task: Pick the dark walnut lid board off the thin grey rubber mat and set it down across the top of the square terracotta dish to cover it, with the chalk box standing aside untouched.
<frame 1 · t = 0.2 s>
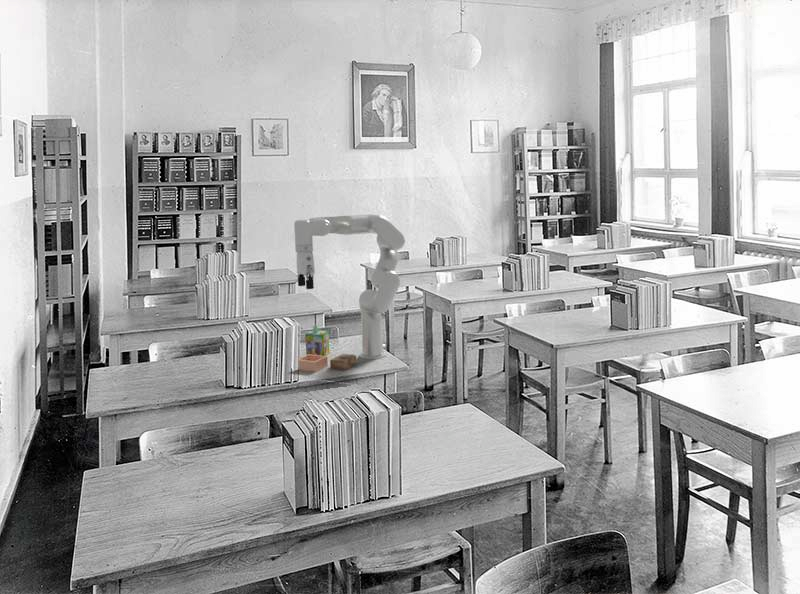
hand: (305, 287, 321), 37 cm above the table, tool pointing down, fingers open, 9 cm apart
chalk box: (318, 356, 348), on the table
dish: (312, 368, 326), on the table
mat: (343, 367, 327), on the table
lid: (343, 366, 327), resting on mat
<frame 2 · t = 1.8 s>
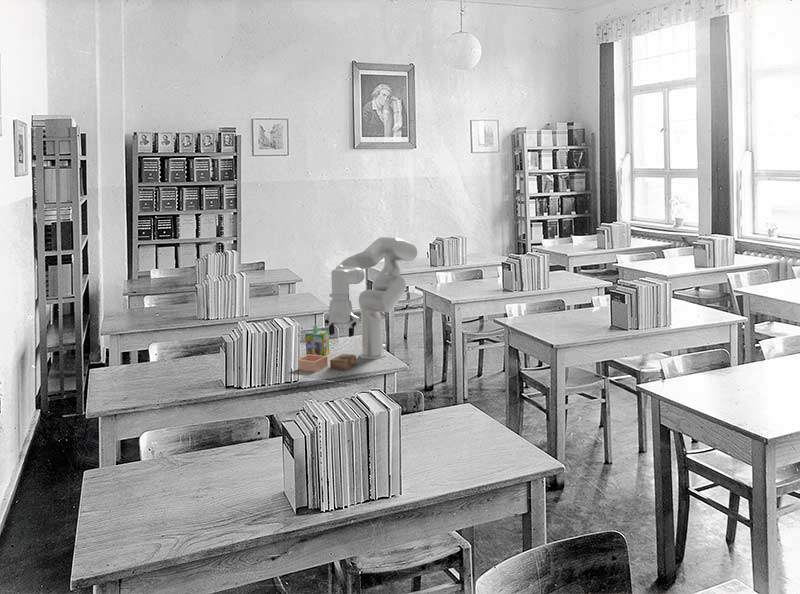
hand: (341, 335, 324), 15 cm above the table, tool pointing down, fingers open, 9 cm apart
nothing on the table moved.
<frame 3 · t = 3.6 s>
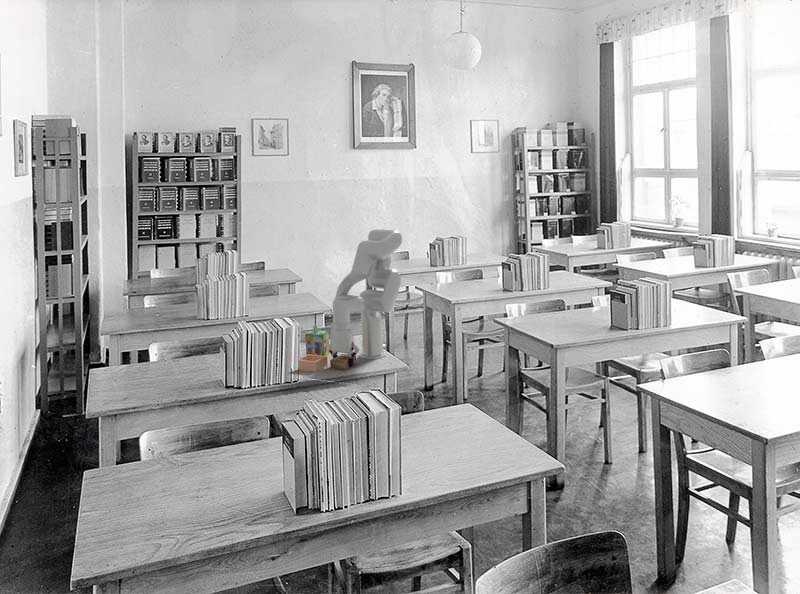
hand: (343, 365, 327), 1 cm above the table, tool pointing down, fingers closed on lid, 7 cm apart
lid: (343, 366, 327), resting on mat, touching gripper
everything else where it was.
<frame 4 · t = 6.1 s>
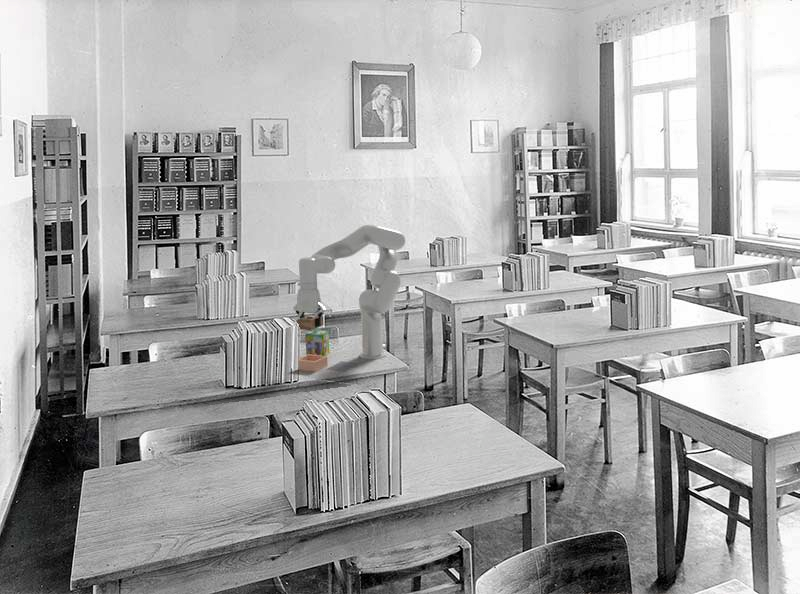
hand: (310, 325, 322), 20 cm above the table, tool pointing down, fingers closed on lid, 7 cm apart
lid: (310, 327, 322), point 19 cm above the table, touching gripper
everything else where it was.
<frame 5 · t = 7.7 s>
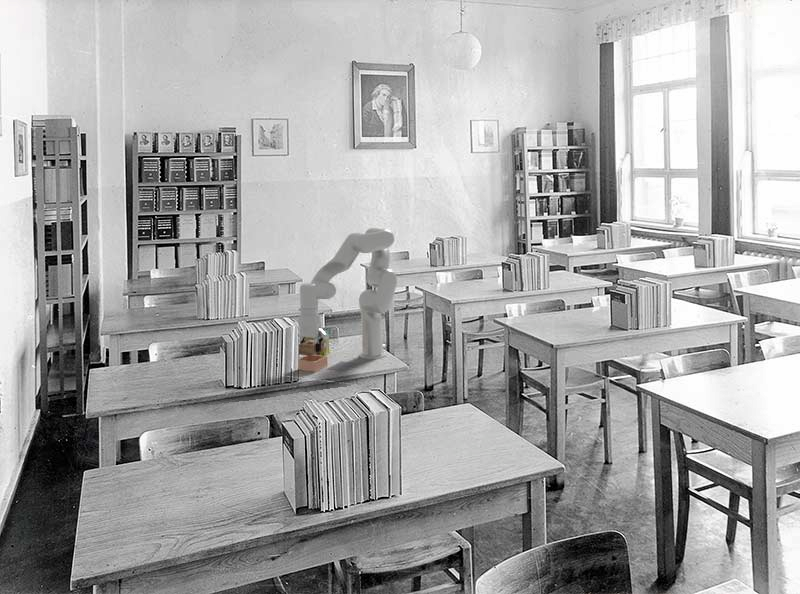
hand: (310, 350, 324), 8 cm above the table, tool pointing down, fingers closed on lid, 7 cm apart
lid: (310, 352, 324), point 8 cm above the table, touching gripper
everything else where it was.
when the fingers open (7 cm above the table, at t = 9.0 s): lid drops 1 cm, resting on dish.
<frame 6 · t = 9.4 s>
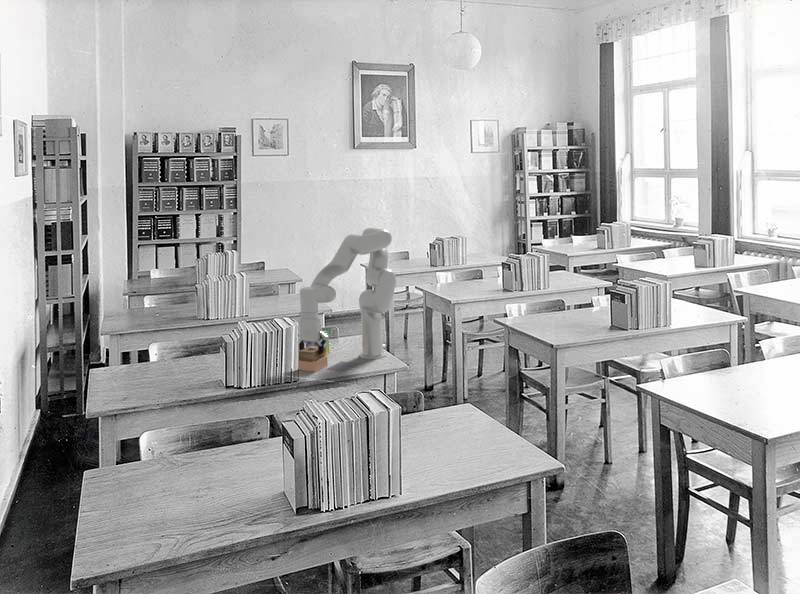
hand: (311, 353, 325), 7 cm above the table, tool pointing down, fingers open, 9 cm apart
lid: (311, 358, 325), point 5 cm above the table, touching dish
everything else where it was.
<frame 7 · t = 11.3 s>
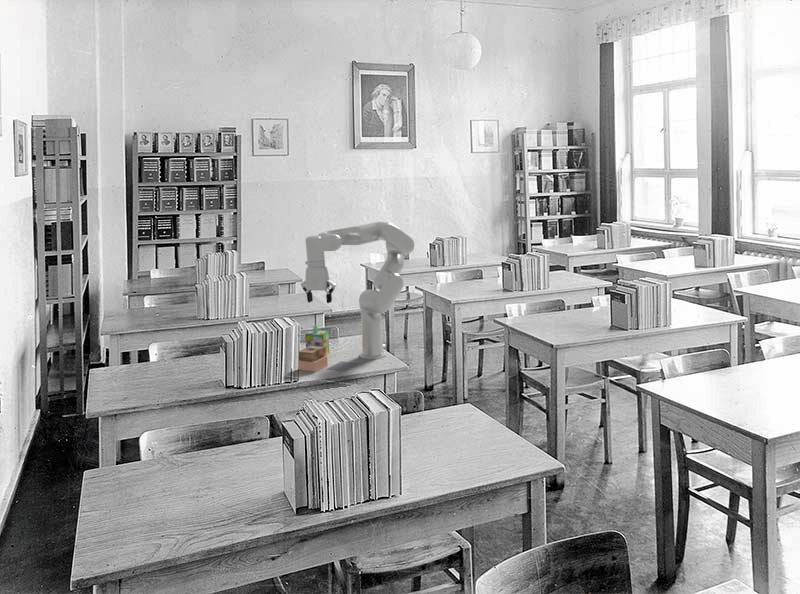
hand: (319, 302, 325), 29 cm above the table, tool pointing down, fingers open, 9 cm apart
nothing on the table moved.
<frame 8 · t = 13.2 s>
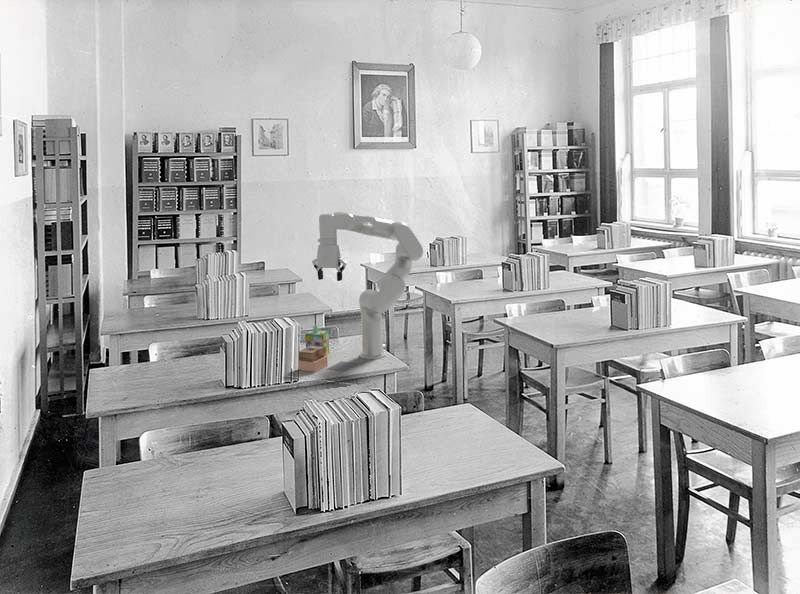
hand: (330, 280, 328), 38 cm above the table, tool pointing down, fingers open, 9 cm apart
nothing on the table moved.
at the end: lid inside the target area on the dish (0.0 cm from its centre), point 5.0 cm above the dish's base; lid tilted 0°; the gripper is holding nothing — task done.
